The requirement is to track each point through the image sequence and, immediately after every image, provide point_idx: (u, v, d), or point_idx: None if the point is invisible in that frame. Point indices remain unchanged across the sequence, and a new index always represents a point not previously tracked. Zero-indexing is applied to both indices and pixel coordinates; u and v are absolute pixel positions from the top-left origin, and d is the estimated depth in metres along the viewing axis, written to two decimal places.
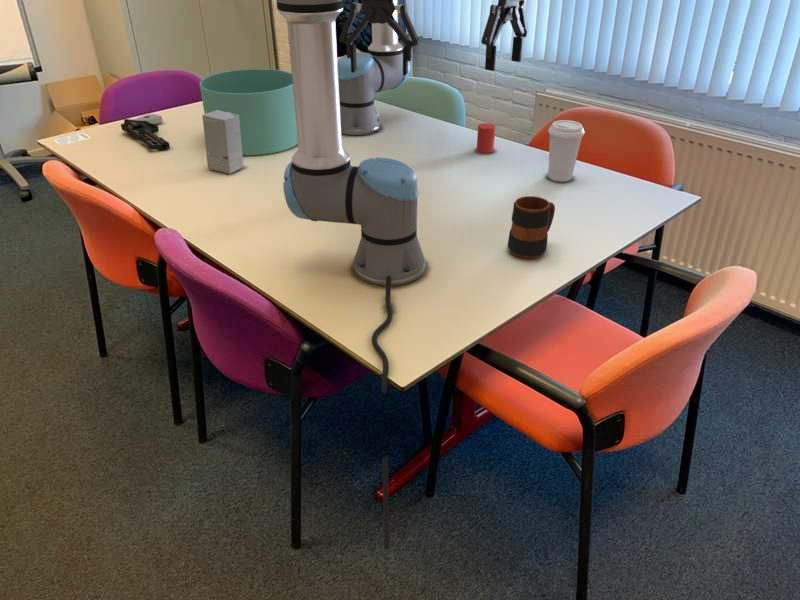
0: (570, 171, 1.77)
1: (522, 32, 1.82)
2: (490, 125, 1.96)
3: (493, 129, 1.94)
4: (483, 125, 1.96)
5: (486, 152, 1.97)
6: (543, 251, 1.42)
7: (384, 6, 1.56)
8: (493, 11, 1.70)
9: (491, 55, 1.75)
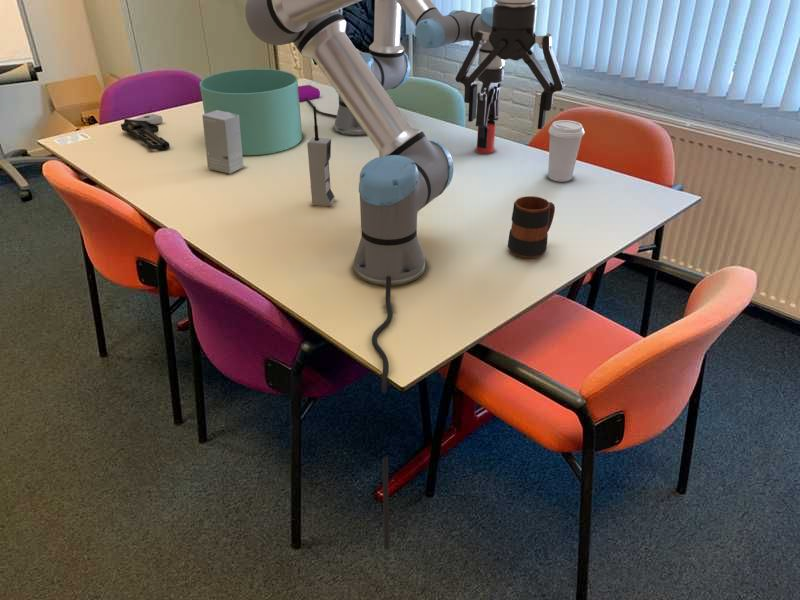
0: (570, 171, 1.77)
1: (495, 115, 1.96)
2: (490, 125, 1.96)
3: (493, 129, 1.94)
4: None
5: (486, 152, 1.97)
6: (543, 251, 1.42)
7: (521, 37, 1.14)
8: (481, 99, 1.85)
9: (484, 135, 1.93)
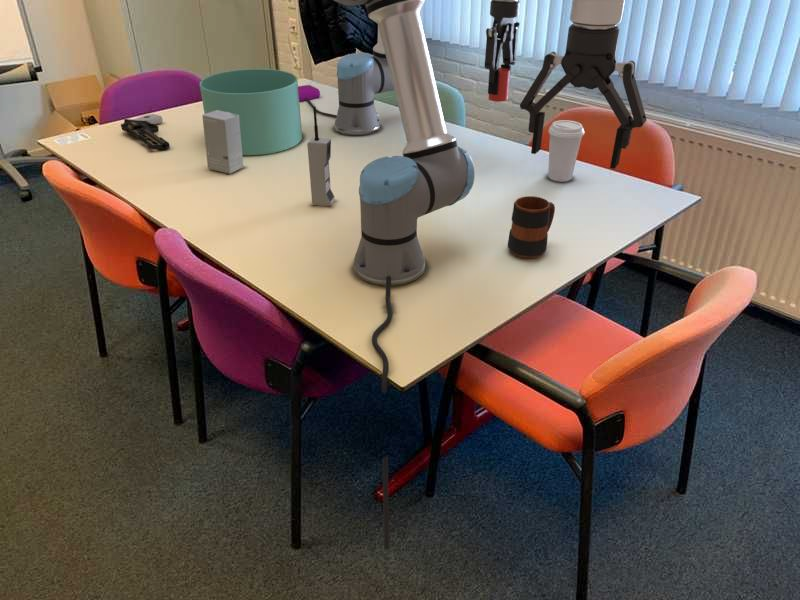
0: (570, 171, 1.77)
1: (511, 58, 1.75)
2: (504, 69, 1.74)
3: (506, 73, 1.73)
4: None
5: (498, 100, 1.76)
6: (543, 251, 1.42)
7: (598, 63, 0.99)
8: (490, 35, 1.65)
9: (494, 79, 1.72)
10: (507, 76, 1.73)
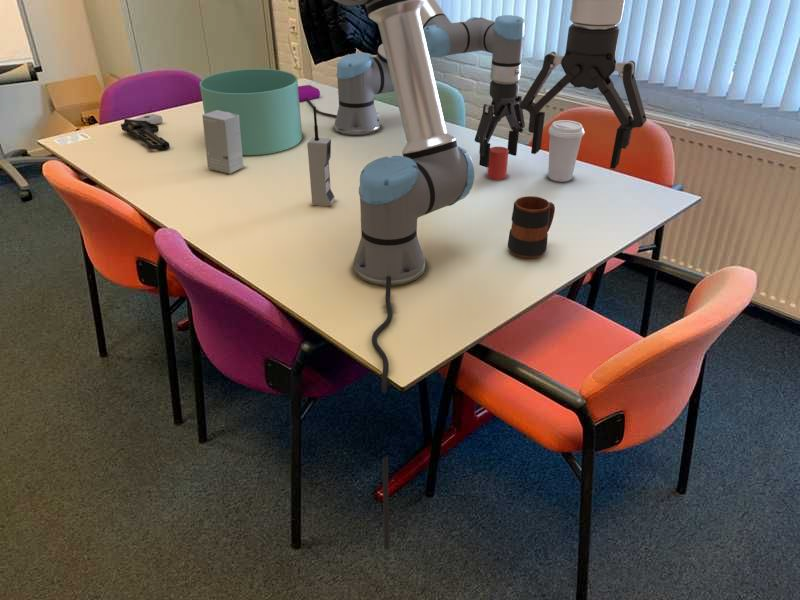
0: (570, 171, 1.77)
1: (518, 127, 1.78)
2: (503, 149, 1.78)
3: (504, 154, 1.76)
4: (496, 148, 1.79)
5: (495, 178, 1.80)
6: (543, 251, 1.42)
7: (598, 63, 0.99)
8: (486, 111, 1.67)
9: (485, 153, 1.73)
10: (505, 156, 1.77)
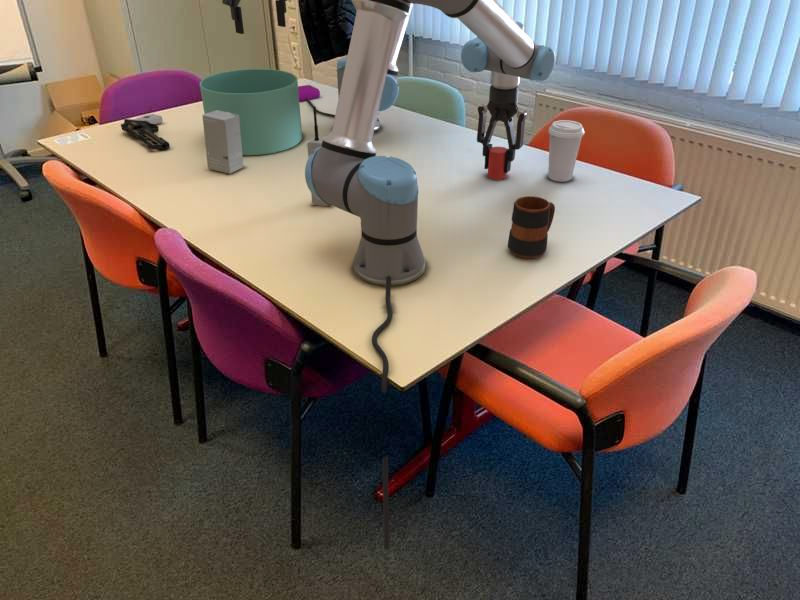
0: (570, 171, 1.77)
1: None
2: (503, 149, 1.78)
3: (504, 154, 1.76)
4: (496, 148, 1.79)
5: (495, 178, 1.80)
6: (543, 251, 1.42)
7: (507, 107, 1.70)
8: None
9: (236, 17, 1.68)
10: (505, 156, 1.77)
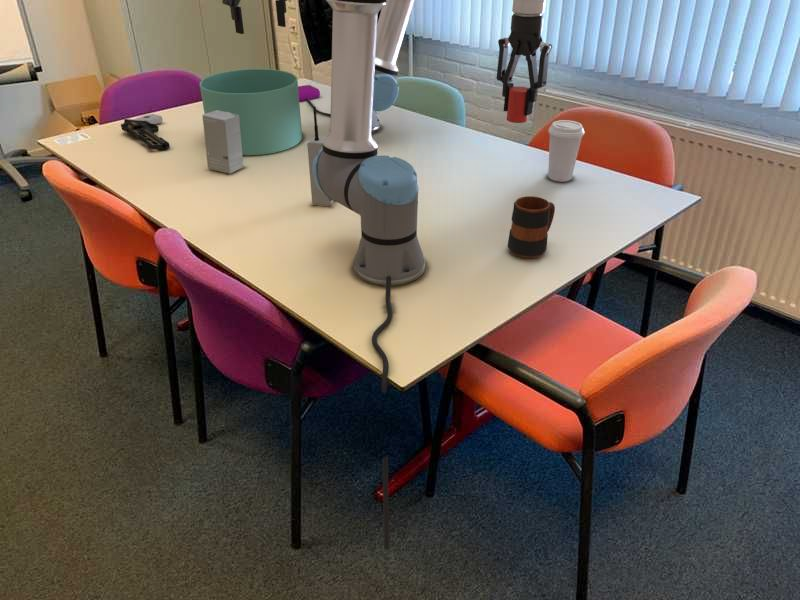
0: (570, 171, 1.77)
1: None
2: (525, 89, 1.61)
3: (524, 93, 1.60)
4: (517, 88, 1.62)
5: (514, 121, 1.63)
6: (543, 251, 1.42)
7: (530, 39, 1.53)
8: None
9: (236, 17, 1.68)
10: None
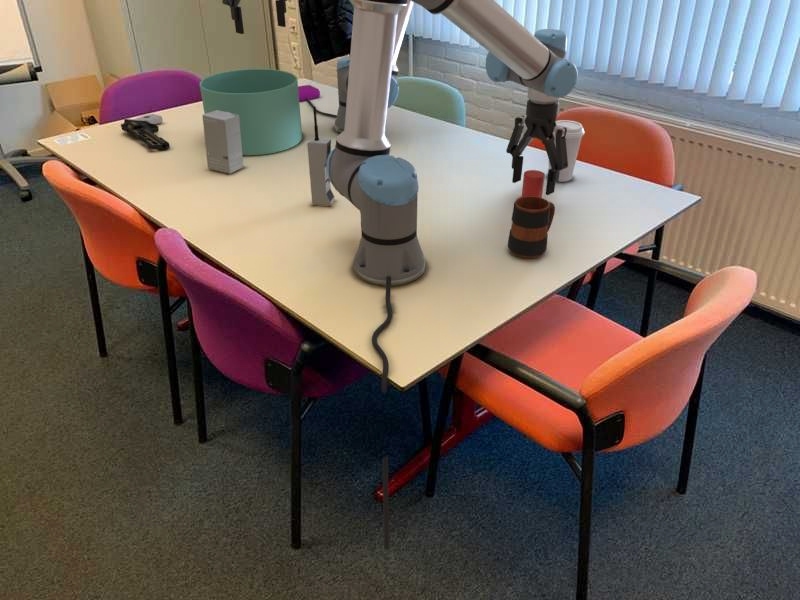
0: (570, 171, 1.77)
1: None
2: (539, 174, 1.63)
3: (537, 179, 1.61)
4: (531, 172, 1.64)
5: None
6: (543, 251, 1.42)
7: (544, 124, 1.54)
8: None
9: (236, 17, 1.68)
10: (539, 182, 1.62)
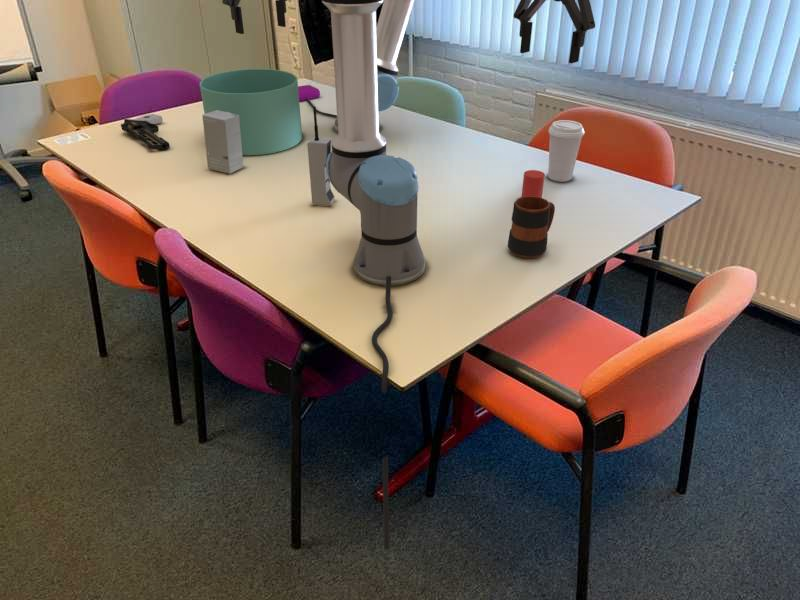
0: (570, 171, 1.77)
1: None
2: (539, 174, 1.63)
3: (537, 179, 1.61)
4: (531, 172, 1.64)
5: None
6: (543, 251, 1.42)
7: None
8: None
9: (236, 17, 1.68)
10: (539, 182, 1.62)
